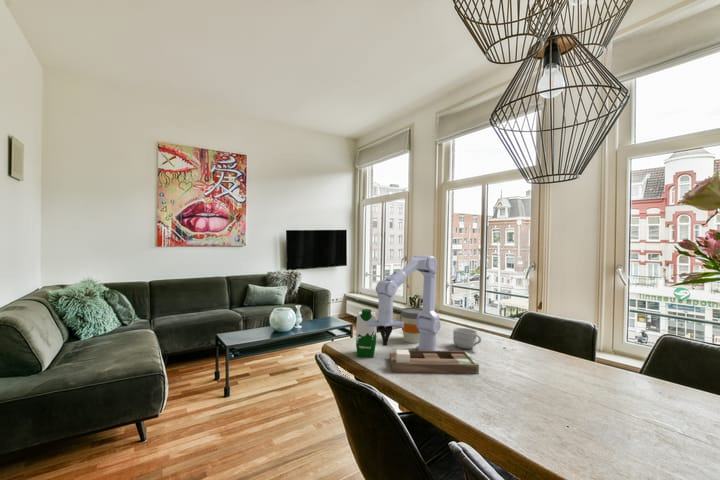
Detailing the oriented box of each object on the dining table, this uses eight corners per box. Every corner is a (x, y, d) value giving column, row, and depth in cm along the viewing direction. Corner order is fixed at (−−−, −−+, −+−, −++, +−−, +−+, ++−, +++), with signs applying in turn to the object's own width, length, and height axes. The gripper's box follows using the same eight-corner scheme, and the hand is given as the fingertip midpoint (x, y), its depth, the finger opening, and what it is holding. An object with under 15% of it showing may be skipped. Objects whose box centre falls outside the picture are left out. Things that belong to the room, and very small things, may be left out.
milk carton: (354, 357, 141) (355, 310, 141) (357, 349, 150) (357, 306, 150) (375, 358, 141) (376, 311, 140) (376, 351, 150) (377, 307, 149)
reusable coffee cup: (411, 334, 175) (412, 306, 174) (430, 340, 165) (431, 311, 165) (394, 339, 167) (395, 309, 166) (413, 346, 157) (414, 314, 157)
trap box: (388, 357, 142) (388, 350, 142) (465, 358, 142) (466, 351, 142) (392, 372, 127) (392, 363, 127) (478, 373, 127) (478, 365, 127)
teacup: (448, 344, 160) (448, 328, 160) (465, 341, 165) (465, 325, 164) (468, 354, 147) (469, 336, 147) (486, 351, 152) (487, 333, 152)
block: (395, 359, 134) (395, 349, 133) (407, 359, 134) (408, 349, 133) (397, 364, 129) (397, 354, 128) (409, 364, 129) (410, 354, 128)
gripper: (367, 312, 127) (367, 348, 127) (405, 313, 127) (404, 348, 127) (367, 308, 134) (366, 341, 134) (402, 309, 134) (402, 342, 134)
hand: (384, 344), depth 131 cm, fingers closed
